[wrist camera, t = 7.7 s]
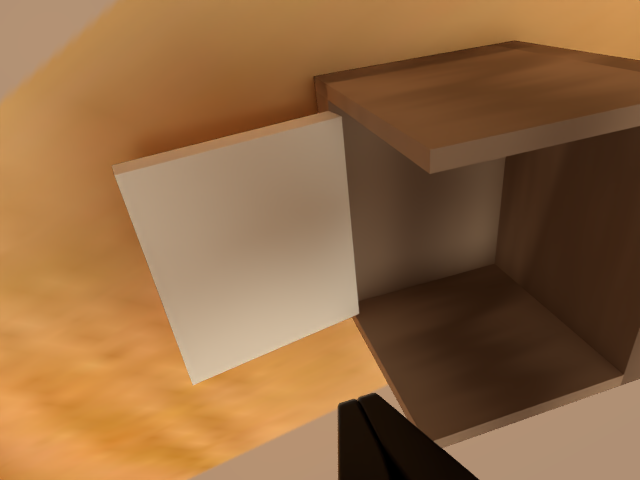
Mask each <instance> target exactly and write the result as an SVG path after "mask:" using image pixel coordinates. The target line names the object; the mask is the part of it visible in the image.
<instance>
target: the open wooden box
mask: <svg viewBox="0 0 640 480" xmlns="http://www.w3.org/2000/svg"><path fill="white" fill-rule="evenodd" d="M314 81H315V90H316V98H317V107H318V113H322V112H326V111H330V112H332V113H335V114H337V115H339V116H342V127H343V138H344V149H345V160H346V172H347V183H348V194H349V206H350V217H351V228H352V239H353V251H354V262H355V273H356V284H357V296H358V307H359V314H357V315H355V316H353V317H352V318H353V320H354V322H355V324H356V325H357V327H358V329H359V331H360V333H361V335H362V337H363V338H364V340H365V342H366V344H367V346H368V348H369V349H370V351H371V353H372V355H373V357H374V359H375V360H376V362H377V364H378V366H379V368H380V370H381V371H382V373H383V375H384V377H385V379H386V381H387V383H388V384H389V386H390V388H391V390H392V391H393V394H394V395H395V397H396V399H397V401H398V402H399V404H400V406H401V408H402V410H403V412H404V414H405V416H406V417H407V419H408V420H409V421H410V422H411V423H412V424H414V425H415V426H416V427H417V428H418V429H420V430H421V431H422V432H423V433H424V434H426V435H427V436H428V437H429V438H430V439H431V440H433V441H434V442H435V443H436V444H437V445H439V446H440V447H441V448H443V447H446V446H449V445H452V444H455V443H458V442H461V441H464V440H467V439H469V438H472V437H475V436H478V435H481V434H484V433H487V432H489V431H492V430H495V429H498V428H501V427H503V426H506V425H509V424H512V423H515V422H518V421H521V420H524V419H526V418H529V417H532V416H535V415H538V414H541V413H544V412H546V411H549V410H552V409H555V408H558V407H561V406H564V405H566V404H569V403H572V402H575V401H578V400H581V399H583V398H586V397H589V396H592V395H595V394H598V393H601V392H603V391H606V390H609V389H612V388H615V387H618V386H620V385H623V384H626V383H629V382H632V381H635V380H638V379H640V60H633V59H627V58H621V57H614V56H608V55H602V54H595V53H589V52H583V51H576V50H570V49H564V48H557V47H551V46H545V45H538V44H532V43H526V42H519V41H510V42H505V43H499V44H493V45H488V46H482V47H476V48H471V49H465V50H460V51H454V52H448V53H443V54H437V55H431V56H426V57H420V58H414V59H409V60H403V61H397V62H392V63H386V64H381V65H375V66H369V67H364V68H358V69H352V70H347V71H341V72H335V73H330V74H324V75H319V76H314Z"/></svg>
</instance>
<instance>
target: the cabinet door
mask: <svg viewBox="0 0 640 480" xmlns="http://www.w3.org/2000/svg"><path fill="white" fill-rule="evenodd" d="M112 168H113V172H114V176H115V178H116V181H117V184H118V186H119V189H120V192H121V194H122V197H123V200H124V202H125V205H126V208H127V210H128V213H129V216H130V218H131V221H132V224H133V226H134V229H135V232H136V234H137V237H138V240H139V242H140V245H141V248H142V250H143V253H144V256H145V258H146V261H147V264H148V266H149V269H150V272H151V274H152V277H153V280H154V283H155V285H156V288H157V291H158V293H159V296H160V299H161V301H162V304H163V307H164V309H165V312H166V315H167V317H168V320H169V323H170V325H171V328H172V331H173V333H174V336H175V339H176V341H177V344H178V347H179V349H180V352H181V355H182V357H183V360H184V363H185V365H186V368H187V371H188V373H189V376H190V379H191V381H192V384H193V385H195V384H197V383H199V382H202V381H204V380H206V379H209V378H211V377H213V376H215V375H218V374H220V373H222V372H225V371H227V370H229V369H232V368H234V367H236V366H239V365H241V364H243V363H246V362H248V361H250V360H253V359H255V358H257V357H260V356H262V355H264V354H267V353H269V352H271V351H274V350H276V349H278V348H281V347H283V346H285V345H288V344H290V343H292V342H295V341H297V340H299V339H302V338H304V337H306V336H309V335H311V334H313V333H315V332H318V331H320V330H322V329H325V328H327V327H329V326H332V325H334V324H336V323H339V322H341V321H343V320H346V319H348V318H350V317H353V316H355V315H357V314H359V307H358V296H357V284H356V273H355V262H354V251H353V239H352V228H351V217H350V206H349V194H348V183H347V172H346V160H345V149H344V138H343V127H342V116H339V115H337V114H335V113H332V112H330V111H326V112H322V113H318V114H314V115H310V116H306V117H302V118H298V119H294V120H290V121H286V122H282V123H278V124H274V125H270V126H266V127H262V128H258V129H254V130H250V131H246V132H242V133H238V134H234V135H230V136H226V137H222V138H218V139H214V140H210V141H207V142H203V143H199V144H195V145H191V146H187V147H183V148H179V149H175V150H171V151H167V152H163V153H159V154H155V155H151V156H147V157H143V158H139V159H135V160H131V161H127V162H123V163H119V164H115V165H112Z"/></svg>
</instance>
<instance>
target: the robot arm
mask: <svg viewBox="0 0 640 480" xmlns="http://www.w3.org/2000/svg"><path fill="white" fill-rule="evenodd" d="M338 480H479V479H478V478H476V477H475V476H474V475H473V474H472V473H471V472H470V471H468V470H467V469H466V468H465V467H464V466H462V465H461V464H460V463H459V462H458V461H456V460H455V459H454V458H453V457H452V456H450V455H449V454H448V453H447V452H446V451H445V450H443V449H442V448H441V447H440V446H439V445H437V444H436V443H435V442H434V441H433V440H431V439H430V438H429V437H428V436H427V435H426V434H424V433H423V432H422V431H421V430H420V429H418V428H417V427H416V426H415V425H414V424H412V423H411V422H410V421H409V420H408V419H407V418H405V417H404V416H403V415H402V414H401V413H399V412H398V411H397V410H396V409H395V408H393V407H392V406H391V405H390V404H389V403H387V402H386V401H385V400H384V399H383V398H382V397H380V396H379V395H378V394H376V393H371V394H367V395H364V396H361V397H359V398H358V399H357V400H356V399H352V400H348V401H345V402H342V403H339V405H338Z"/></svg>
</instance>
